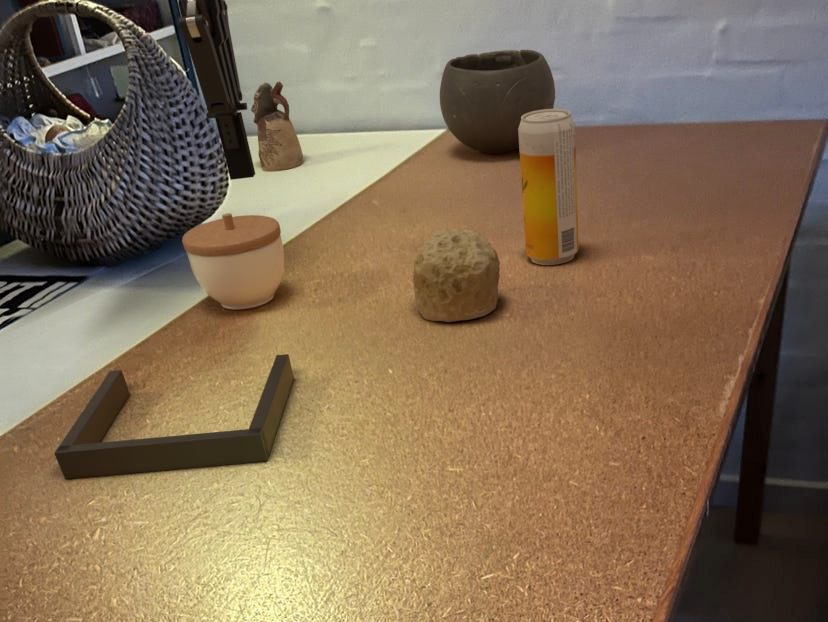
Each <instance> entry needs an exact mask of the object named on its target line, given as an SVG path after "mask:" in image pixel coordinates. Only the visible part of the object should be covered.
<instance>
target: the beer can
mask: <svg viewBox="0 0 828 622" xmlns="http://www.w3.org/2000/svg"><path fill="white" fill-rule="evenodd" d="M518 135H519V148H518V149H519V165H520V179H521V195H522V211H523V223H524V224H523V226H524V240H525V243H524V244H525V254H526V255H527V256H528V257H529V259H530V260H531V262H532V263H534V264H535V265H541V266H555V265H561V264H566V263H568V262H570V261H572V260H573V259H574V258H575V255H576V254H577V252H578V251H579V249H580V246H579V243H580V242H579V217H578V215H579V213H578V211H579V210H578V185H577V184H578V183H577V182H578V181H577V151H576V147H577V146H576V124H575V121H574V119H573V117H572V112H571V111H570V110H568V109H564V108H553V109H543V110H537V111H532V112H529V113H526V114H524V115H522V116H521V122H520V125H519V128H518Z"/></svg>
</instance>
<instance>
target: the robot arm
mask: <svg viewBox="0 0 828 622" xmlns="http://www.w3.org/2000/svg"><path fill="white" fill-rule="evenodd" d="M177 3H178V8H179V13H180V16H179V17H178V26H179V28H180V31H181V32H182V35H183V38H184V40H185V42H186V46H187V48H188V51H189V55H190V59H191V62H192V65H193V68H194V71H195V74H196V77H197V80H198V83H199V87H200V90H201V93H202V96H203V100H204V104H205V106H206V111H207V112H206V113H205V115H206V119H208V120H210V119H215V123H216V127H217V131H218V135H219V139H220V143H221V147H222V151H223V155H224V160H225V163H226V168H227V171H228V175H229V179H230V181H232V180H240V179H250V178H254V177H255V175H256V171H255V166H254V162H253V157H252V153H251V148H250V143H249V139H248V136H247V132H246V131H247V130H246V127H245V123H244V118H243V114H242V112H241V111H246V110H248V103H247V102H242V101H243V93H242V90H241V84H240V78H239V74H238V67H237V63H236V56H235V51H234V45H233V39H232V35H231V30H230V22H229V14H228V4H227V3H226V0H178V1H177Z"/></svg>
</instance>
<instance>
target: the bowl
mask: <svg viewBox="0 0 828 622" xmlns="http://www.w3.org/2000/svg"><path fill="white" fill-rule="evenodd" d="M555 100H556V85H555V81H554V76H553V73H552V70H551V67H550V65H549V62H548V61H547V59H546V57H545V56H544V55H543V54H542V52H540V51H539V52H538V51H536V50H533V49H519V50H517V49H514V50H513V49H510V50H509V49H504V50H494V51H489V52H482V53H479V54H477V53H472V54H470V53H469V54H466V55H463V56H457V57H454V58H452V59H450V60H448V61H447V63H446V64H445V67H444V68H443V72H442V76H441V81H440V86H439V106H440V112H441V115H442V118H443V121H444V123H445V126H446V127H447V129H448V130H449V132H450V133H451V134H452V135H453V136H454V138H456V139H457V141H459V142H460V143H461V144H463V145H464V146H466V147H468V148H470V149H472V150H474V151H477V152H481V153H486V154H501V153H502V154H503V153H507V152H511V151H514V150H516V149H519V135H518V128H519V125H520V122H521V116H522V115H524V114H526V113H529V112H532V111H537V110H543V109H555V108H554V106H555Z"/></svg>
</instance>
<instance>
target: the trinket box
mask: <svg viewBox="0 0 828 622" xmlns="http://www.w3.org/2000/svg"><path fill="white" fill-rule="evenodd" d="M221 217H222V218H219V219H214V220H211V221H207V222H205V223H202V224H199V225H197V226H195V227H193V228H191V229H189V230H188V231H186V232H185V233H184V235H183V236H182V238H181V242H182V245H183V248H184V250H185V252H186V255H187V259H188V262H189V265H190V268H191V271H192V273H193V275H194V277H195V279H196V281H197V283H198V285H199V286H200V287H201V289H202V290H203V291H204V292H205V293H206V295H208V296H209V297H210V298H212V299H213V300H215V301H216V302H218V303H220V305H221V307H223V308H224V309H228V310H234V311H237V310H238V311H239V310H240V311H241V310H248V309H249V310H250V309H253V308H258V307H260V306H263V305H266V304H268V303H269V302H271V301H272V300H273V299H274V297H275V293H276V291H277V290H278V288H279V286H280V284H281V282H282V280H283V277H284V270H285V251H284V246H283V240H282V235H281V233H282V232H281V231H282V229H281V225H280V223H279V221H278V220H277V219H276V218H273V217H271V216H266V215H259V214H258V215H256V214H255V215H253V214H250V215H249V214H248V215H236V216H233V214H232V213H231V212H228V213H227V212H226V213H223V214H221Z"/></svg>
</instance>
